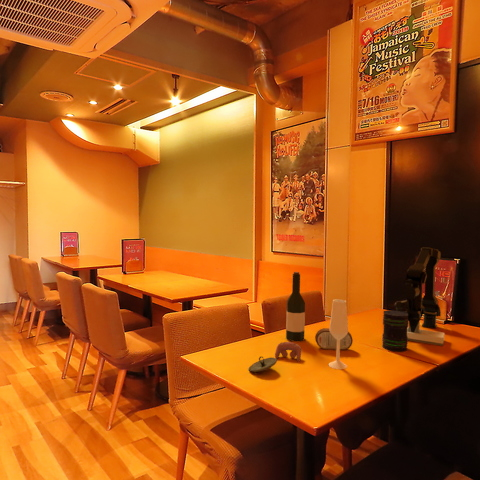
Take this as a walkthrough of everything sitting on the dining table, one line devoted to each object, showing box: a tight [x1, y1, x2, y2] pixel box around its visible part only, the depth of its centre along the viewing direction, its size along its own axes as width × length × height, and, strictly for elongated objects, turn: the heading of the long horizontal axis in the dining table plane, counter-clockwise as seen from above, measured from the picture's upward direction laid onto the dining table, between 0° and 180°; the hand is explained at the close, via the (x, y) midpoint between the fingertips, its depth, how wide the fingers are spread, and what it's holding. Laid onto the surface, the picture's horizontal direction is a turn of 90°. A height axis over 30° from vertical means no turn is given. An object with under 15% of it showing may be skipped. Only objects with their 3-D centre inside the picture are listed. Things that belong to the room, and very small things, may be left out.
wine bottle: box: [285, 271, 306, 342], centre depth 170 cm, size 8×8×30 cm
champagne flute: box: [328, 298, 349, 370], centre depth 139 cm, size 7×7×24 cm
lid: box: [248, 356, 278, 373], centre depth 134 cm, size 11×10×5 cm
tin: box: [314, 327, 354, 351], centre depth 157 cm, size 15×3×8 cm, turn 84°
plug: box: [408, 320, 421, 333], centre depth 174 cm, size 4×4×7 cm
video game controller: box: [274, 341, 302, 362], centre depth 147 cm, size 10×5×7 cm, turn 72°
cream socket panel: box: [407, 327, 445, 347], centre depth 174 cm, size 9×24×4 cm, turn 58°
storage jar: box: [381, 309, 409, 353], centre depth 160 cm, size 10×10×15 cm
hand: (414, 329), depth 174 cm, fingers open, 9 cm apart
